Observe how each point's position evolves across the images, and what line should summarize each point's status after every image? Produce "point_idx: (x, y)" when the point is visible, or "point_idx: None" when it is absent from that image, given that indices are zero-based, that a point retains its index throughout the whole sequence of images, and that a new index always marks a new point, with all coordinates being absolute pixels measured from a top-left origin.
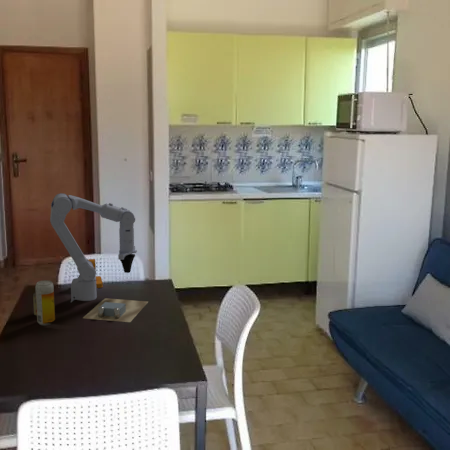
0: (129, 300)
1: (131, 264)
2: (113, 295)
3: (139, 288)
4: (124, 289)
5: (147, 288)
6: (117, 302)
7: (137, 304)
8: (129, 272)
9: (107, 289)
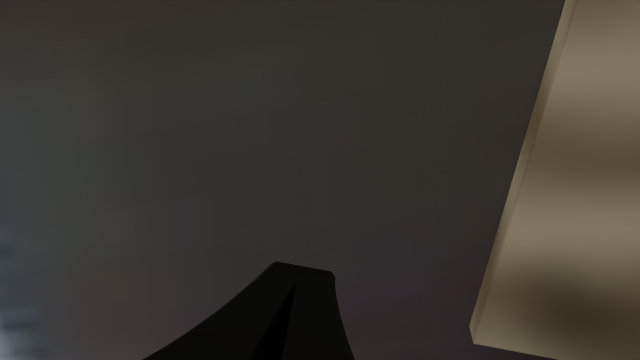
0: (553, 116)
1: (225, 337)
2: None
3: (87, 87)
4: (147, 217)
5: (65, 3)
6: (608, 225)
7: None
8: (313, 269)
9: None
